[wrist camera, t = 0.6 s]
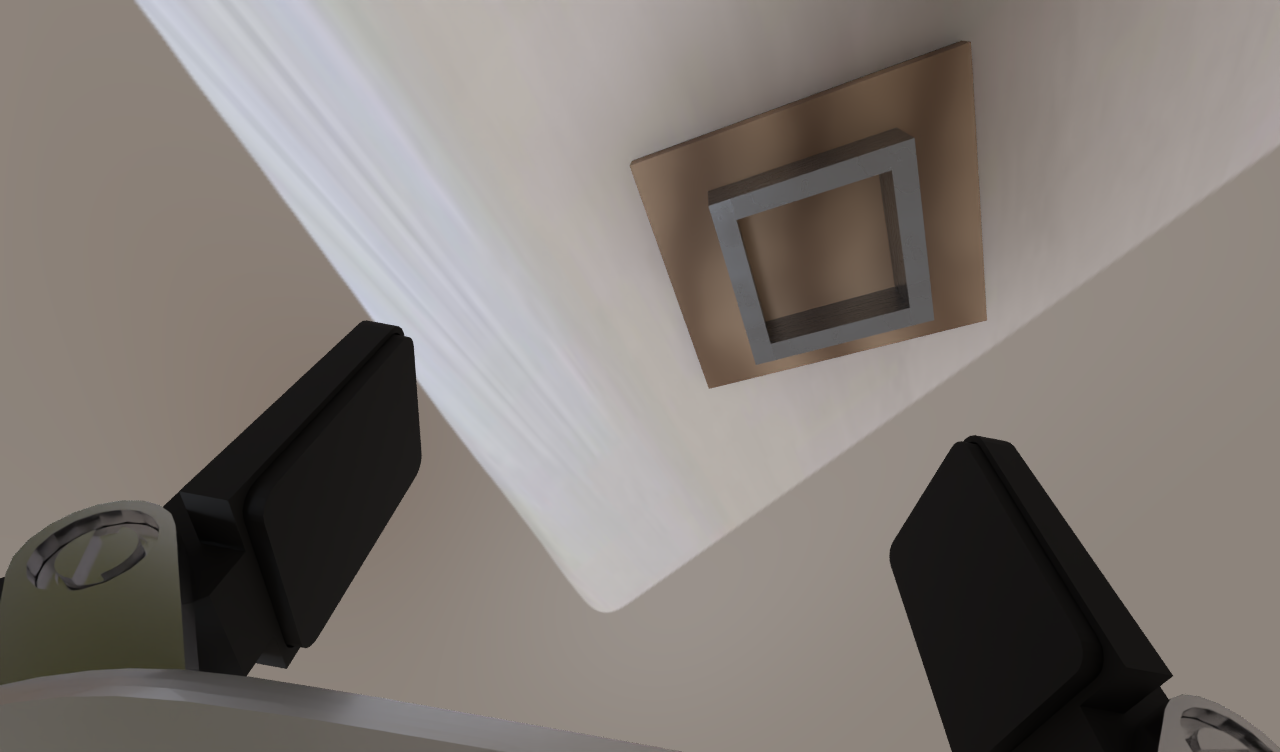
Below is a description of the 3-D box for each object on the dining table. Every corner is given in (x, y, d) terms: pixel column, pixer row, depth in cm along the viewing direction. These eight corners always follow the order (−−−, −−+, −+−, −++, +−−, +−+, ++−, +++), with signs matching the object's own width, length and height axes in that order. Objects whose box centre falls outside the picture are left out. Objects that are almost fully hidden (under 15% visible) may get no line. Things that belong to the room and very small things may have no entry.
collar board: (961, 40, 29) (970, 42, 28) (979, 311, 37) (986, 320, 36) (631, 161, 34) (629, 165, 33) (708, 379, 41) (709, 388, 40)
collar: (896, 127, 30) (914, 137, 28) (917, 298, 35) (934, 320, 33) (707, 191, 33) (708, 206, 30) (752, 341, 38) (755, 365, 35)
